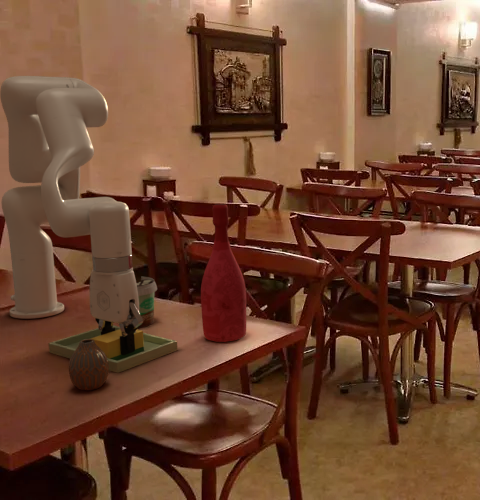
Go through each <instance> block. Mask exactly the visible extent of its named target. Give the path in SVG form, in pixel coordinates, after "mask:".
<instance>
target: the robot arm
mask: <svg viewBox="0 0 480 500" xmlns="http://www.w3.org/2000/svg"><path fill="white" fill-rule="evenodd" d="M0 101H1V102H0V103H1V106H2V110H3V112H4V115H5V118H6V121H7V126H8V127H7V129H8V169H9V174H10V177H11V179H12V180H14V181H15V182H17V183H22V184H39V183H40V184H41V185H40V184H39V185H25V186H23V185H22V186H17V187H13V188H10V189H8V190H7V191H6V192H5V193H4V194H3V195H2V197H1V209H2V213H3V217H4V221H5V224H6V228H7V233H8V234H7V235H8V241H9V249H10V259H11V267H12V268H11V269H12V280H13V289H14V291H13V292H14V293H13V294H12V295H10V301H13V302H14V306H12V307H11V308H10V309H9V311H8V312H9V316H10V317H11V318H15V319H21V320H29V319H30V320H31V319H41V318H48V317H51V316H55V315H58V314H60V313H62V312H64V310H65V304H64V303H62V302H60V301H58V295H57V284H56V283H57V281H56V271H55V259H54V258H55V257H54V249H53V248H54V247H53V242H52V239H51V237H50V236H49V234H47V233H46V232H45V231H44V230H43V229H42V228H41V226H42V225H46V224H48V225H49V227H50V229H51V231H52V232H53V234H55V235H56V236H58V237H60V238H66V239H67V238H75V237H83V236H89V235H90V245H91V246H90V247H91V258H92V269H91V271H90V277H89V311H90V315H91V316H92V317H93V318H94V319H95V322H96V324H97V325H98V326H97V328H99V330H100V331H101V335H103V334H107V333H110V332H113V331H115V328H114V327H113V325H114V324H119V326H118V327H120V330H121V334H122V336H120V348H121V355H126V354H129V353H132V352H134V351H135V339H134V333H136V330H139V328H138V327H139V326H140V325H141V324H142V323H143V319H142V317H141V315H140V313H139V299H138V291H137V285H136V283H137V280H136V275H135V272H134V266H133V251H132V235H131V233H132V232H131V219H130V217H131V216H130V209H129V206H128V205H127V203H125V202H122V201H117V200H115V199H114V198H113V197H110V196H97V197H84V198H80V190H81V167H82V166H84V165H86V164H87V163H89V162H90V161H91V160H92V158H93V157H94V154H95V149H94V146H93V142H92V140H91V137H90V134H89V132H88V129H87V128H101V127H103V126H104V125H106V123H107V121H108V118H109V107H108V104H107V101H106V99H105V96H103V94H102V93H101V91H100V90H98V88H96V87H95V86H93V85H91V84H89V83H88V82H86V81H85V80H83V79H80V78H77V77H70V76H69V77H66V76H44V75H43V76H42V75H16V76H10V77H7V78H6V79H4V81H3V82H2V84H1V86H0ZM127 317H128V319H127ZM127 322H128V324H129V325H128V326H127V328H126V325H125V323H127ZM112 327H113V328H112Z"/></svg>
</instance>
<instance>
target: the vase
mask: <svg viewBox="0 0 480 500" xmlns="http://www.w3.org/2000/svg"><path fill="white" fill-rule="evenodd" d="M109 372H110V370H109V363H108V359H107V357H106V355H105V353H104V352H103V351H102V350H101V349H100V348H99V347H98V346H97V345H96V343H95V342H94V340H93V339H84V340H81V341H80V343H79V345H78V347H77V349H76V350H75V351H74V353H73V354H72V356H71V358H70V359H69V362H68V375H69V379H70V381H71V383H72V384H73V386H74V387H76V388H77V389H79V390H80V391H92V390H97V389H100V388H101V387H102V386H103V385H104V384H105V383H106V381H107V379H108V376H109Z"/></svg>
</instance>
